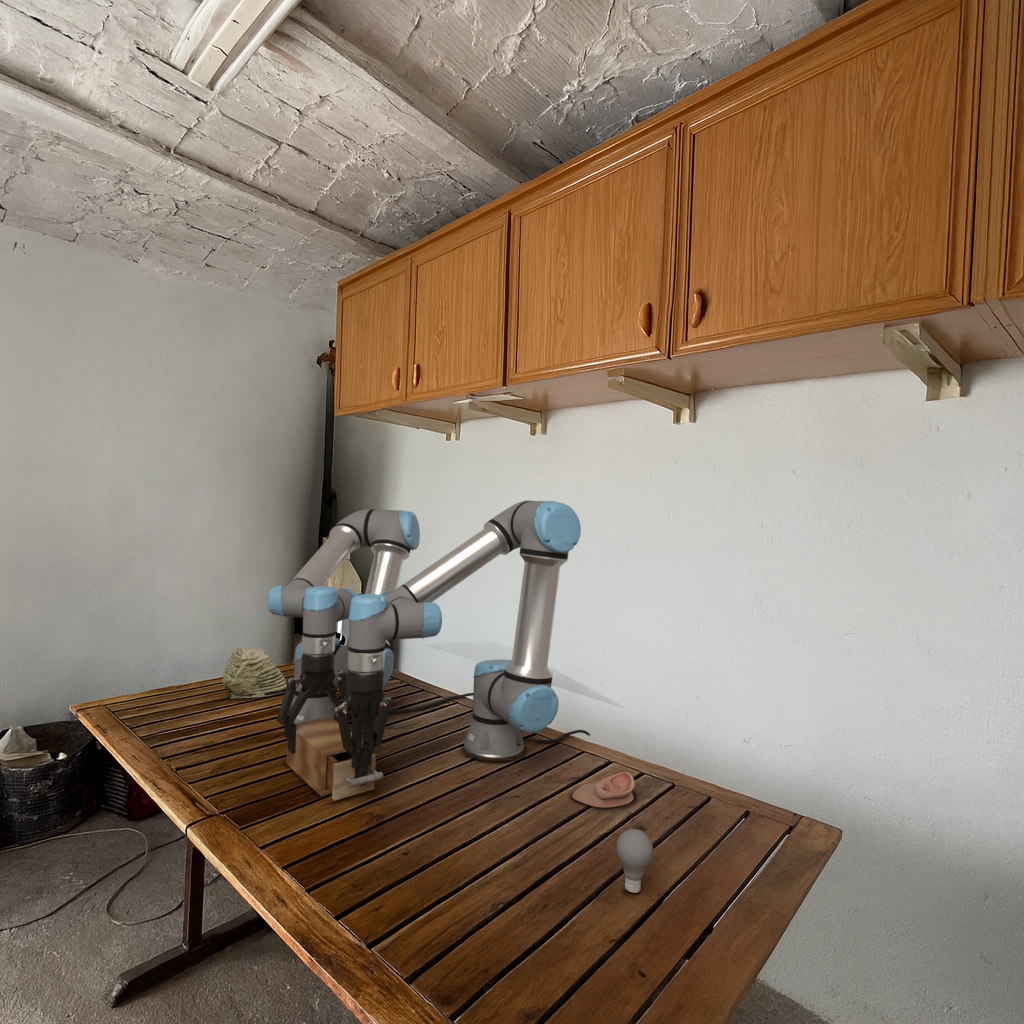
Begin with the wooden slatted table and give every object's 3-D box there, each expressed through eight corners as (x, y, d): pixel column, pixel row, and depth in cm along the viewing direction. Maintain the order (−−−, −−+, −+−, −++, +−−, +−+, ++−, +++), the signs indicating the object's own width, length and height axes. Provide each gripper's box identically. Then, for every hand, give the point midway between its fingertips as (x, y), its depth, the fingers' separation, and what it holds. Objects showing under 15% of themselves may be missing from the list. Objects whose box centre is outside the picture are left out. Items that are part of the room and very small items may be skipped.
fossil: (218, 695, 195) (220, 647, 195) (278, 685, 208) (279, 640, 207) (228, 703, 189) (230, 653, 188) (289, 692, 201) (290, 645, 201)
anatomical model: (571, 785, 135) (576, 763, 146) (570, 803, 135) (575, 781, 146) (634, 793, 132) (635, 771, 144) (633, 812, 132) (634, 788, 144)
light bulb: (610, 879, 108) (613, 822, 108) (644, 879, 109) (647, 822, 109) (619, 902, 102) (622, 840, 102) (655, 901, 103) (658, 840, 103)
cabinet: (365, 784, 141) (367, 742, 140) (321, 796, 134) (322, 753, 134) (328, 754, 156) (329, 716, 155) (286, 764, 149) (287, 725, 149)
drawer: (386, 798, 132) (388, 764, 132) (345, 811, 126) (347, 775, 126) (337, 759, 150) (338, 729, 150) (299, 769, 144) (300, 737, 144)
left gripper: (275, 662, 139) (271, 763, 139) (370, 650, 153) (366, 741, 154) (263, 655, 144) (259, 751, 145) (356, 644, 159) (352, 731, 160)
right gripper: (343, 679, 124) (338, 798, 124) (402, 670, 132) (397, 781, 133) (328, 669, 130) (323, 783, 130) (385, 661, 138) (380, 768, 138)
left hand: (314, 746), depth 149 cm, fingers closed on cabinet, 10 cm apart
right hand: (360, 782), depth 131 cm, fingers closed
